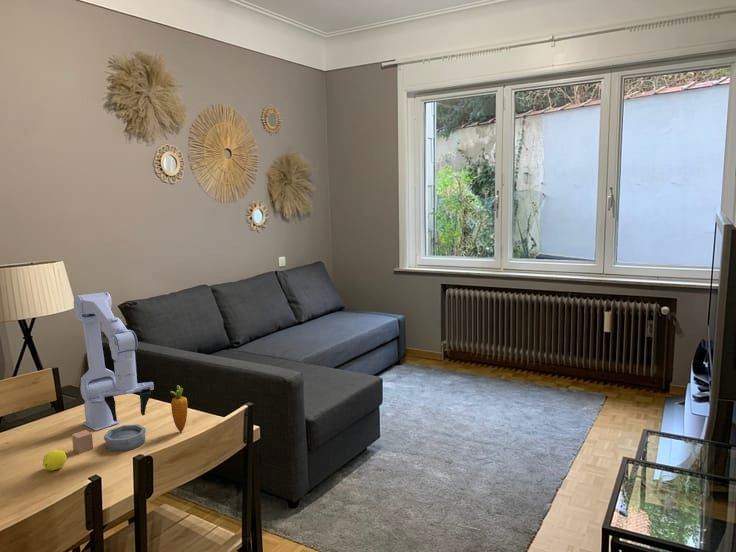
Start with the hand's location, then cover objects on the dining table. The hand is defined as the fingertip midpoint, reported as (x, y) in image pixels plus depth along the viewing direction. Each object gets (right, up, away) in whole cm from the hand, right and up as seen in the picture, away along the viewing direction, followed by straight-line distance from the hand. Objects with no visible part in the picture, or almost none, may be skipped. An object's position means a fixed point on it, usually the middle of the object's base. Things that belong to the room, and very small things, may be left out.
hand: (129, 417), depth 161 cm
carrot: (+11, -8, +13) cm, 19 cm away
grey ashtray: (-3, -9, +5) cm, 11 cm away
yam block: (-14, -10, +1) cm, 17 cm away
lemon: (-16, -12, -10) cm, 22 cm away
